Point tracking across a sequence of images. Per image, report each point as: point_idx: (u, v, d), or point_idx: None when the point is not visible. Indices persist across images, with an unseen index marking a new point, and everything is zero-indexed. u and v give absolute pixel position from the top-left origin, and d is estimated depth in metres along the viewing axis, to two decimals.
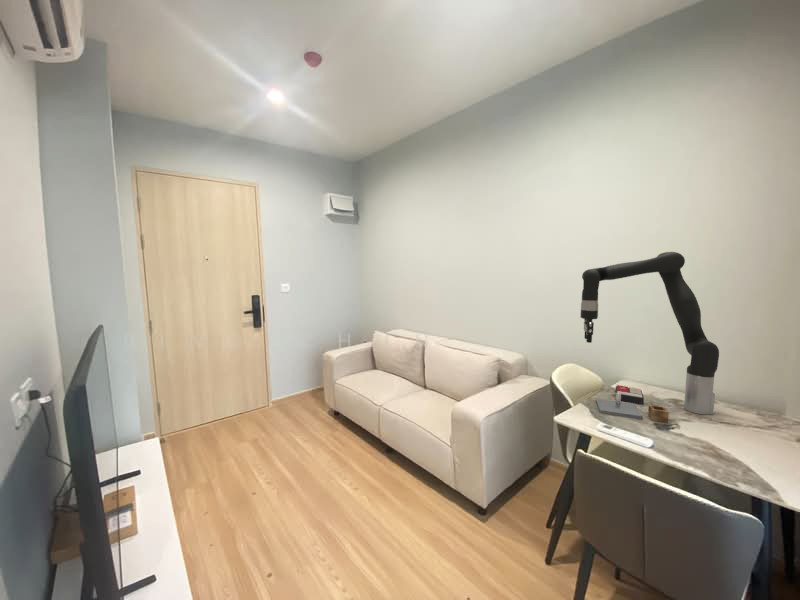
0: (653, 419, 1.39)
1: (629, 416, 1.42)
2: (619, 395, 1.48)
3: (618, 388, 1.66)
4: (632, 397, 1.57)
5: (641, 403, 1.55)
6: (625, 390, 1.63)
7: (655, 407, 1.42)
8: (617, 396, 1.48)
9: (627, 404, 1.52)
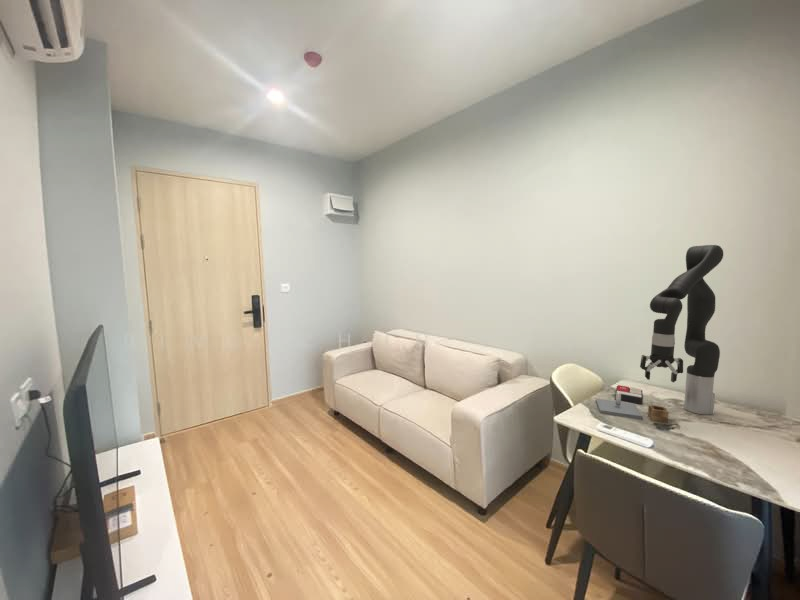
0: (653, 419, 1.39)
1: (629, 416, 1.42)
2: (619, 395, 1.48)
3: (618, 388, 1.67)
4: (631, 397, 1.57)
5: (640, 403, 1.55)
6: (625, 390, 1.63)
7: (655, 407, 1.42)
8: (617, 396, 1.48)
9: (627, 404, 1.52)
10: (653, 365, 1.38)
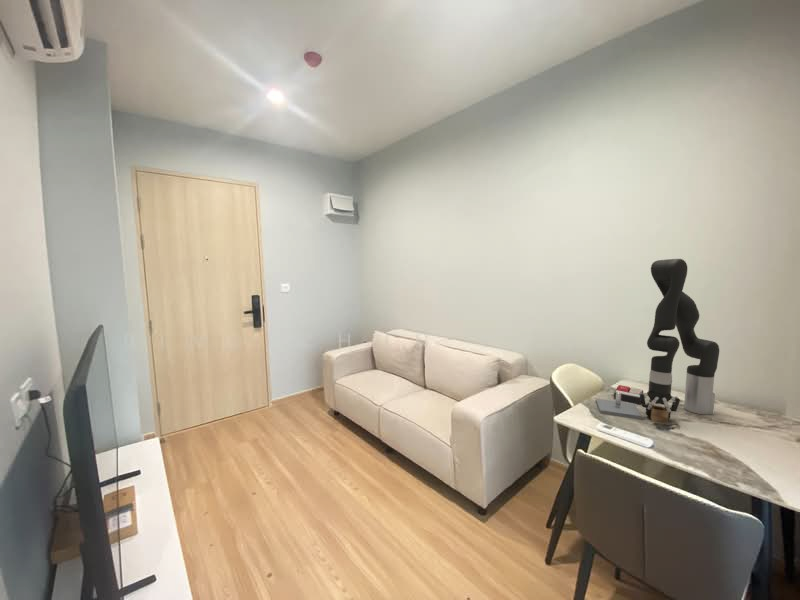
0: (653, 419, 1.39)
1: (629, 416, 1.42)
2: (619, 395, 1.48)
3: (618, 388, 1.67)
4: (630, 396, 1.57)
5: (638, 403, 1.55)
6: (625, 390, 1.64)
7: (655, 407, 1.42)
8: (617, 396, 1.48)
9: (627, 404, 1.52)
10: (652, 403, 1.39)
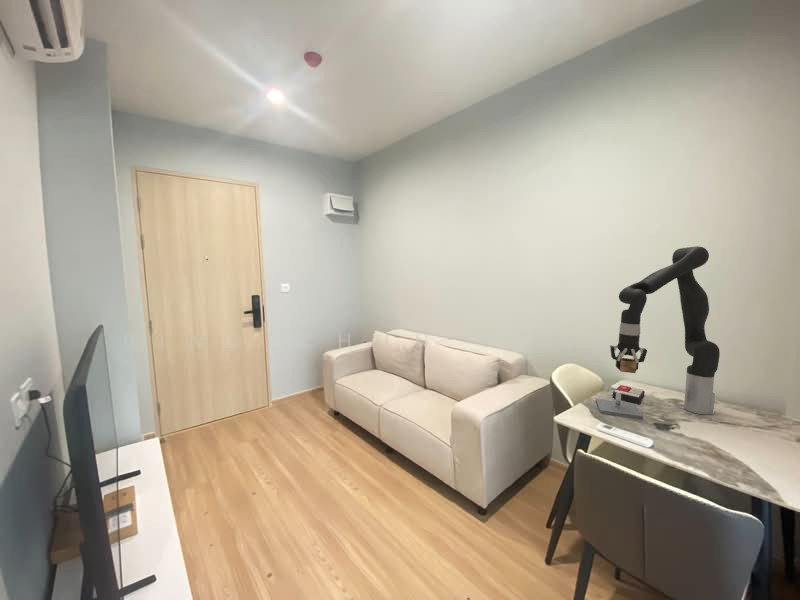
0: (622, 370, 1.44)
1: (629, 416, 1.42)
2: (619, 395, 1.48)
3: (618, 387, 1.67)
4: (628, 396, 1.58)
5: (637, 403, 1.55)
6: (624, 389, 1.64)
7: (624, 359, 1.47)
8: (617, 396, 1.48)
9: (627, 404, 1.52)
10: (621, 354, 1.44)
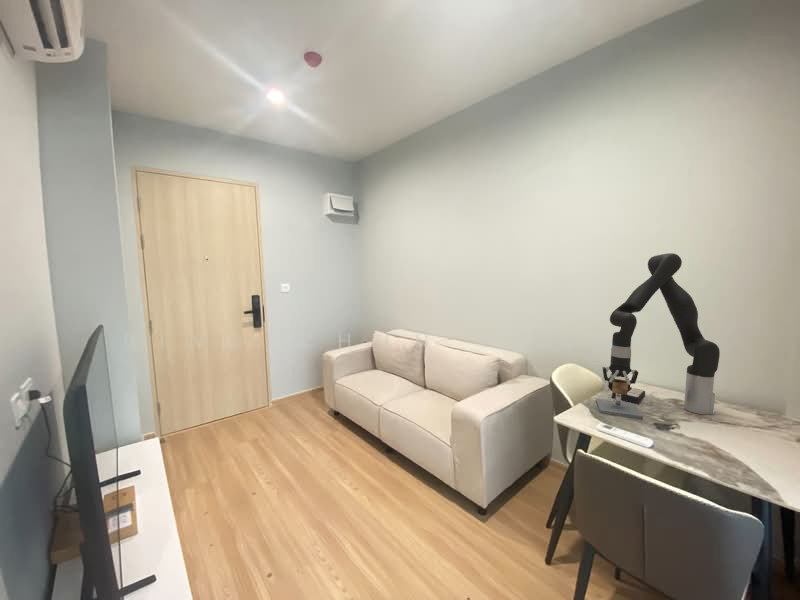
0: (614, 391, 1.47)
1: (629, 416, 1.42)
2: (619, 395, 1.48)
3: None
4: (627, 396, 1.58)
5: (636, 402, 1.55)
6: None
7: (617, 380, 1.50)
8: (617, 396, 1.48)
9: (627, 404, 1.52)
10: (613, 376, 1.47)
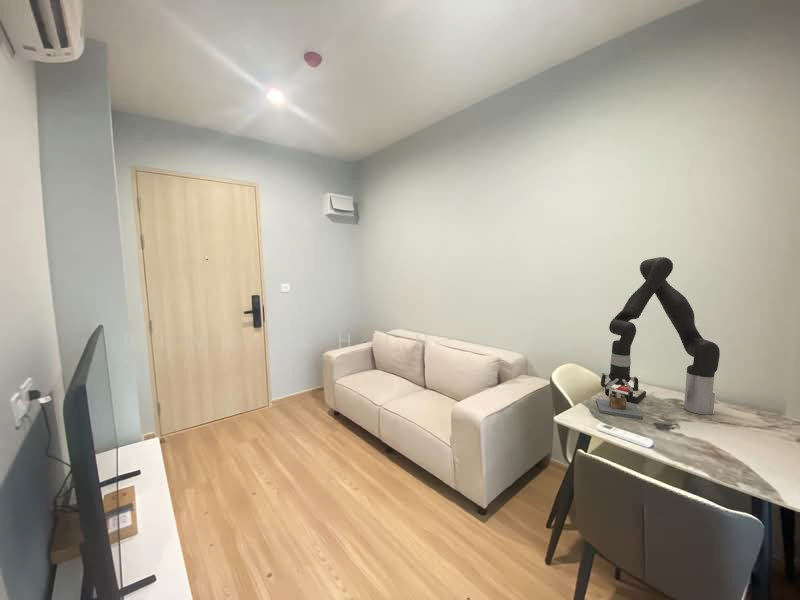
0: (613, 406, 1.48)
1: (629, 416, 1.42)
2: (619, 395, 1.48)
3: (619, 387, 1.68)
4: (626, 396, 1.58)
5: (634, 402, 1.56)
6: (624, 389, 1.64)
7: (615, 395, 1.51)
8: (617, 396, 1.48)
9: (627, 404, 1.52)
10: (611, 383, 1.48)
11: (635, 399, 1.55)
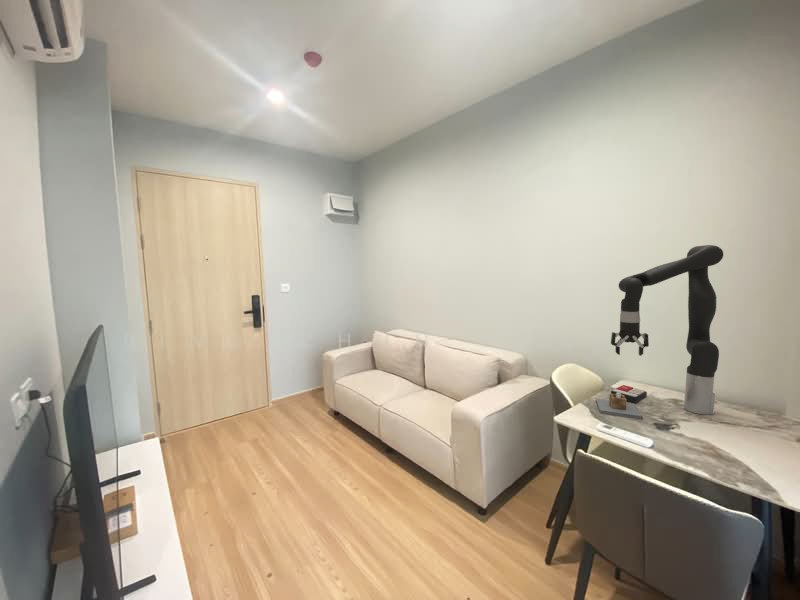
0: (613, 406, 1.48)
1: (629, 416, 1.42)
2: (619, 395, 1.48)
3: (619, 387, 1.68)
4: (625, 395, 1.59)
5: (633, 402, 1.56)
6: (624, 389, 1.64)
7: (615, 395, 1.51)
8: (617, 396, 1.48)
9: (627, 404, 1.52)
10: (622, 341, 1.50)
11: (634, 399, 1.56)
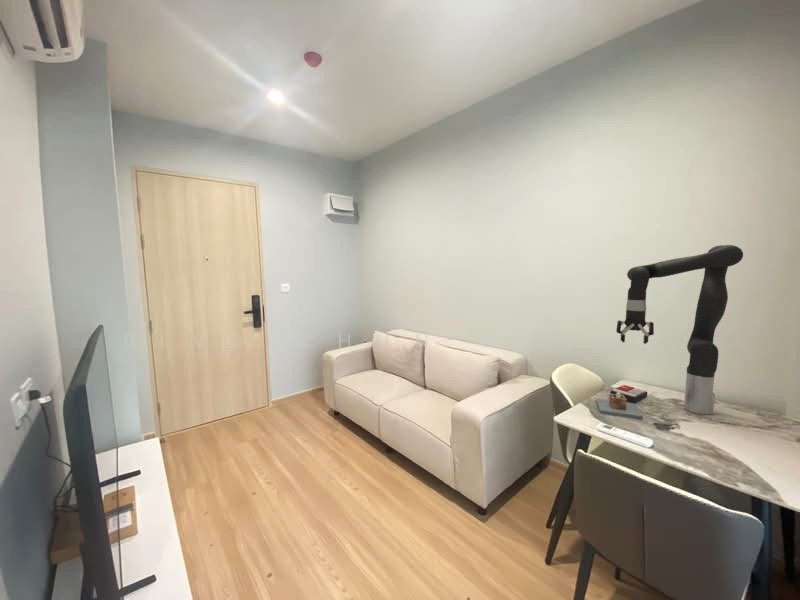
0: (613, 406, 1.48)
1: (629, 416, 1.42)
2: (619, 395, 1.48)
3: (619, 387, 1.68)
4: (624, 395, 1.59)
5: (632, 402, 1.56)
6: (624, 389, 1.65)
7: (615, 395, 1.51)
8: (617, 396, 1.48)
9: (627, 404, 1.52)
10: (627, 329, 1.53)
11: (633, 399, 1.56)
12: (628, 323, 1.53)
